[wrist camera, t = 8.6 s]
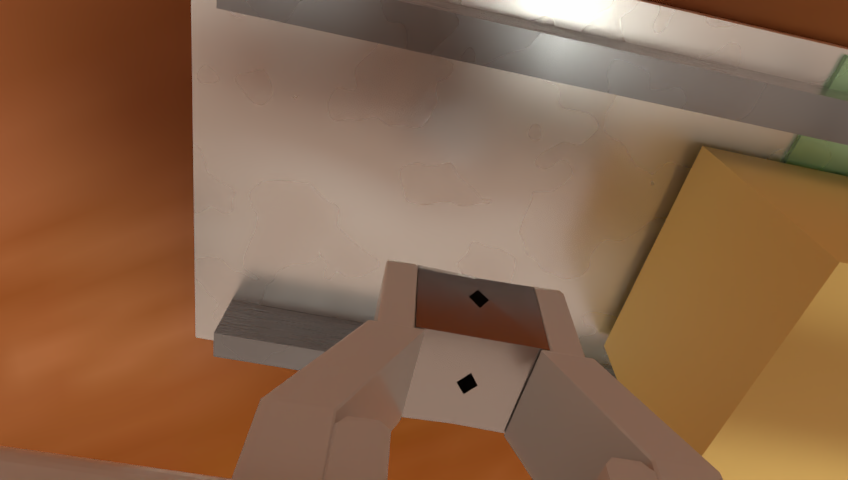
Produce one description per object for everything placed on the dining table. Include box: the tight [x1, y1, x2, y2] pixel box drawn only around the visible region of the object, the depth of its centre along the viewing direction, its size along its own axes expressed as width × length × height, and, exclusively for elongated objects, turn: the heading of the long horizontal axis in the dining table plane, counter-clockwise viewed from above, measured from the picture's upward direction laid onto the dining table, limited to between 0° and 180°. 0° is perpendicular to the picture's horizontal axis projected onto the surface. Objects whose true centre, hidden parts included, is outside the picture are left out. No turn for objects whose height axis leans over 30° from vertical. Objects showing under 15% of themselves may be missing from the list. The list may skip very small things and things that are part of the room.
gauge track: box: [191, 0, 848, 379], centre depth 12 cm, size 11×26×7 cm, turn 78°
